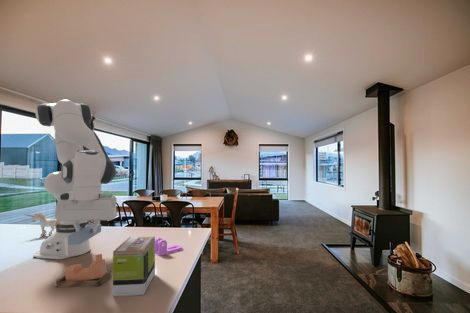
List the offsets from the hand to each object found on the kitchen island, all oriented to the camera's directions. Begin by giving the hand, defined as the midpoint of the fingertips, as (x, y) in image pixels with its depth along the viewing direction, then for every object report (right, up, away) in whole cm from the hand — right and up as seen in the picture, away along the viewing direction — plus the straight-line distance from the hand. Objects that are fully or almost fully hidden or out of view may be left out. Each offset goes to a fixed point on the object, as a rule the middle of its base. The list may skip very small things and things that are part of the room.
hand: (86, 232), depth 87 cm
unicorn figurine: (-58, -19, +52) cm, 81 cm away
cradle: (0, -17, -1) cm, 17 cm away
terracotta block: (+1, -16, 0) cm, 16 cm away
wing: (0, -2, 0) cm, 2 cm away
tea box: (+19, -18, -3) cm, 26 cm away
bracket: (+22, -19, +30) cm, 42 cm away
